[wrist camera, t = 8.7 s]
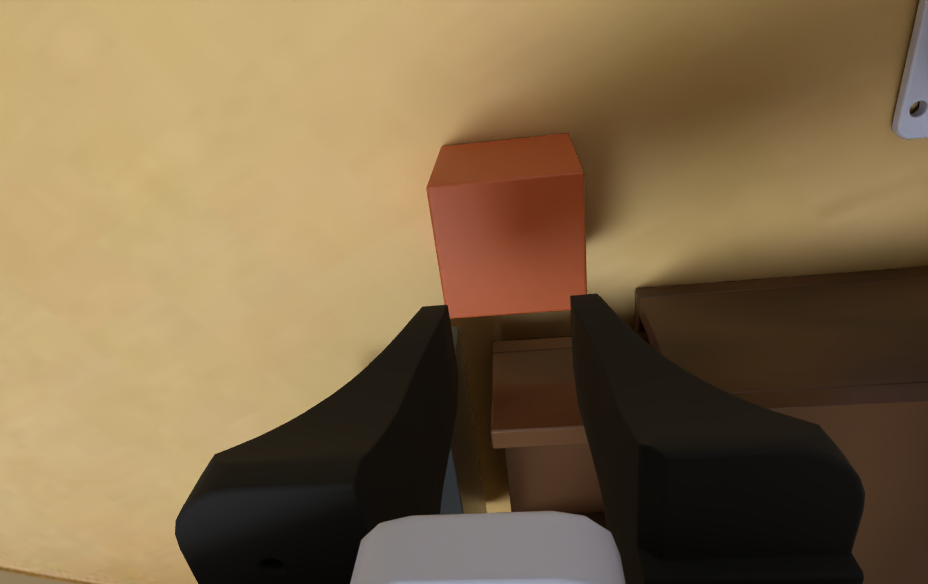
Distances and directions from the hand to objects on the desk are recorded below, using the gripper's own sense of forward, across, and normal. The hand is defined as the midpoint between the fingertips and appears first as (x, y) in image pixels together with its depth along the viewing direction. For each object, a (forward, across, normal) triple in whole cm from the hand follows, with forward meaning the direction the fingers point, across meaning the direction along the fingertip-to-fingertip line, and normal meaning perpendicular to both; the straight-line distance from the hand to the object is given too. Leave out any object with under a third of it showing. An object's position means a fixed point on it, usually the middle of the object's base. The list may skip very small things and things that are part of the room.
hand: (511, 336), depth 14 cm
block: (+9, 0, 0) cm, 9 cm away
